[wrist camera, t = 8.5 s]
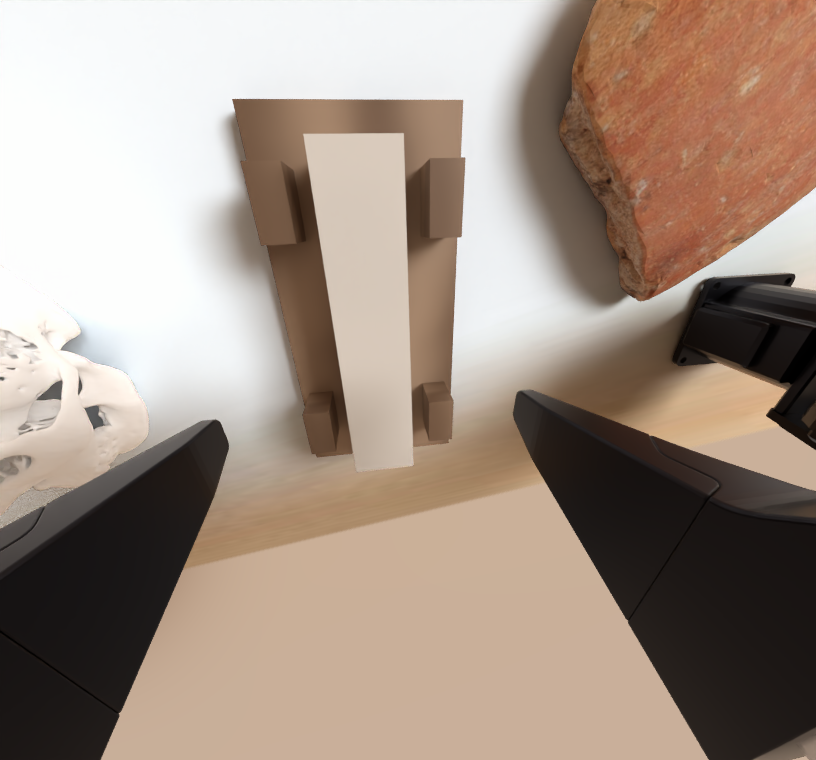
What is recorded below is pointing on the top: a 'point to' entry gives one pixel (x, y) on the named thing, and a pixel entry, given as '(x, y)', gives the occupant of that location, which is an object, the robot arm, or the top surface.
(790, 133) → the ceramic shard
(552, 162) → the top surface
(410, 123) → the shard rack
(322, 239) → the clay strip
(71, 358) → the skull bowl
